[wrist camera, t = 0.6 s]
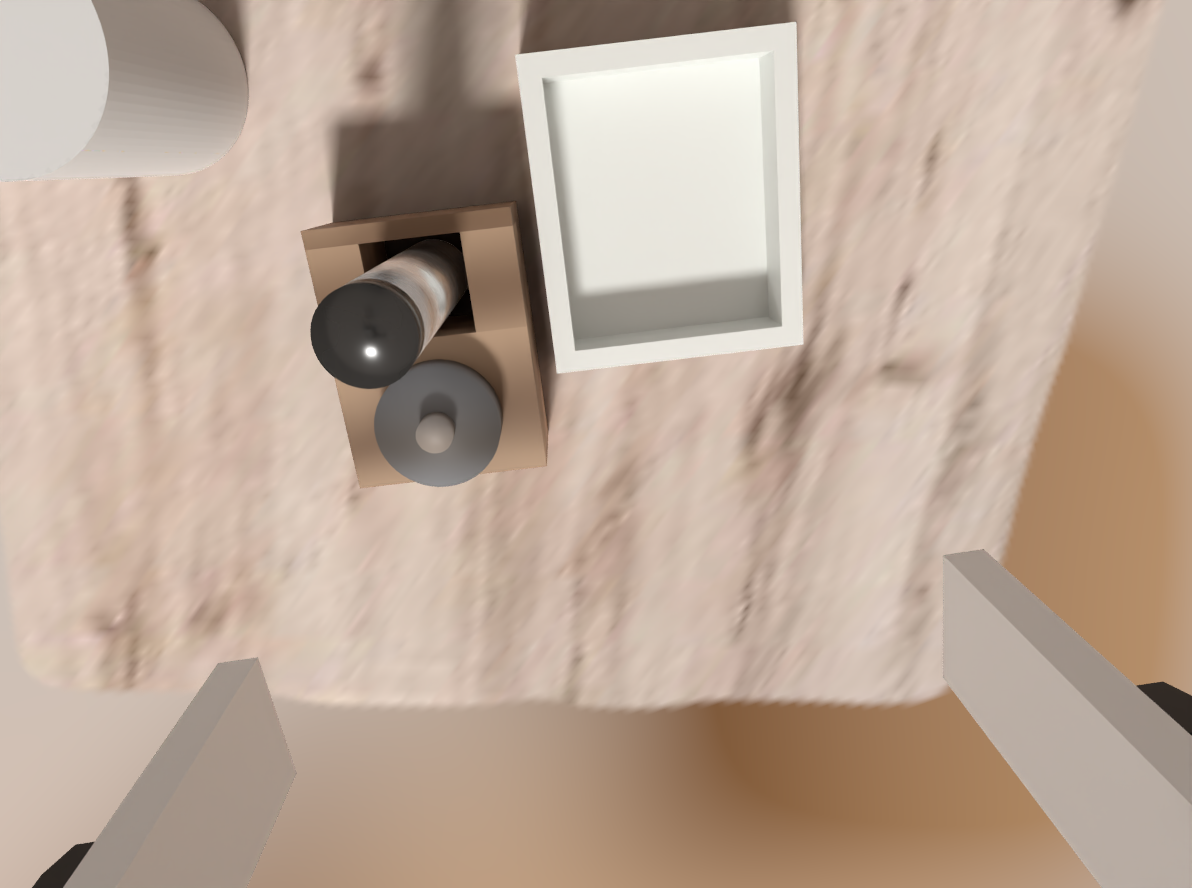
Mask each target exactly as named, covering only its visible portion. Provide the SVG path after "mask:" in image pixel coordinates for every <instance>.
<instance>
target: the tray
mask: <svg viewBox="0 0 1192 888" xmlns="http://www.w3.org/2000/svg"><path fill="white" fill-rule="evenodd" d="M515 57H516V65H517V72H518V80H519V88H520V95H521V103H522V111H523V118H524V126H525V133H526V141H527V149H528V156H529V164H530V171H531V179H532V187H533V194H534V202H535V210H536V217H537V225H538V232H539V240H540V248H541V255H542V263H543V270H544V278H545V286H546V293H547V301H548V308H549V316H550V324H551V331H552V339H553V347H554V354H555V362H556V369H557V374H558V373H567V372H575V371H583V370H592V369H600V368H609V367H617V366H626V365H634V364H642V363H651V362H659V361H668V360H676V359H685V358H693V357H701V356H710V355H718V354H727V353H735V352H744V351H752V350H760V349H769V348H777V347H786V346H794V345H803V306H802V260H801V214H800V168H799V122H798V75H797V29H796V22H790V23H781V24H773V25H764V26H756V27H747V28H739V29H730V30H722V31H713V32H705V33H696V34H688V35H679V36H671V37H662V38H653V39H645V40H636V41H628V42H619V43H611V44H602V45H594V46H585V47H577V48H568V49H560V50H551V51H543V52H534V53H526V54H517V55H515Z"/></svg>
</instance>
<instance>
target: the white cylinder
mask: <svg viewBox="0 0 1192 888" xmlns="http://www.w3.org/2000/svg"><path fill="white" fill-rule="evenodd" d="M247 109H248V82H247V76H246V72H245V67H244V64H243V61H242V58H241V56H240V53H239V51H238V49H237V46H236V44H235V43H234V41H233V39H232V37H231V36H230V34H229V33H228V31H227V30H226V28H225V27H224V26H223V24H222V23H221V22H220V21H219V19H218V18H217V17H216V16H215V15H214V14H213V13H212V12H211V11H210V10H209V9H208V8H207V7H205V6H204V5H203V4H202V3H200V2H199V1H198V0H0V181H3V182H9V181H37V180H65V179H92V178H120V177H148V176H176V175H186V174H191V173H195V172H198V171H201V170H203V169H206V168H208V167H210V166H211V165H213V164H215V163H216V162H218V161H219V160H220V159H221V158H222V157H224V156H225V155H226V154H227V153H228V151H229V150H230V149H231V148H232V147H233V145H234V144H235V142H236V141H237V139H238V137H239V135H240V133H241V131H242V128H243V126H244V123H245V119H246V115H247Z"/></svg>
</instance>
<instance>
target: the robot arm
mask: <svg viewBox="0 0 1192 888" xmlns="http://www.w3.org/2000/svg"><path fill="white" fill-rule="evenodd" d="M943 678H944V679H945V681H946V682H947V683H948V685H949V686H950V687H951V689H952V690H953V691H954V693H955V694H956V695H957V697H958V698H959V699H960V700H961V702H962V703H963V705H964V706H965V707H966V709H967V710H968V711H969V713H970V714H971V715H972V716H973V718H974V719H975V720H976V722H977V723H978V724H979V726H980V727H981V728H982V730H983V731H984V732H985V734H986V735H987V736H988V738H989V739H990V740H991V742H992V743H993V744H994V746H995V747H996V748H997V750H998V751H999V752H1000V753H1001V755H1002V756H1003V757H1004V759H1005V760H1006V762H1007V763H1008V764H1009V766H1010V767H1011V768H1012V769H1013V771H1014V772H1015V773H1016V775H1017V776H1018V777H1019V779H1020V780H1021V781H1022V783H1023V784H1024V785H1025V787H1026V788H1027V789H1028V790H1029V792H1030V793H1031V795H1032V796H1033V797H1034V799H1035V800H1036V801H1037V803H1038V804H1039V805H1040V806H1041V808H1042V809H1043V811H1044V812H1045V813H1046V815H1047V816H1048V817H1049V818H1050V820H1051V821H1052V822H1053V824H1054V825H1055V826H1056V828H1057V829H1058V830H1059V832H1060V833H1061V834H1062V836H1063V837H1064V838H1065V840H1066V841H1067V842H1068V844H1069V845H1070V846H1071V847H1072V849H1073V850H1074V852H1075V853H1076V854H1077V856H1078V857H1079V858H1080V860H1081V861H1082V862H1083V863H1084V865H1085V866H1086V867H1087V869H1088V870H1089V871H1090V873H1091V874H1092V875H1093V877H1094V878H1095V879H1096V881H1097V882H1098V883H1099V885H1100V886H1101V887H1102V888H1192V696H1191V695H1189V694H1187V693H1185V692H1183V691H1181V690H1179V689H1177V688H1175V687H1173V686H1171V685H1169V684H1167V683H1165V682H1157V683H1151V684H1144V685H1137V686H1136V685H1134V684H1133V683H1132V682H1131V681H1130V680H1129V679H1128V678H1127V677H1125V676H1124V675H1123V674H1122V673H1121V672H1120V671H1119V670H1118V669H1117V668H1115V667H1114V666H1113V665H1112V664H1111V663H1110V662H1109V661H1107V660H1106V659H1105V658H1104V657H1103V656H1102V655H1101V654H1100V653H1099V652H1098V651H1096V650H1095V649H1094V648H1093V647H1092V646H1091V645H1090V644H1089V643H1088V642H1086V641H1085V640H1084V639H1083V638H1082V637H1081V636H1080V635H1079V634H1077V633H1076V632H1075V631H1074V630H1073V629H1072V628H1071V627H1070V626H1069V625H1067V624H1066V623H1065V622H1064V621H1063V620H1062V619H1061V618H1060V617H1058V616H1057V615H1056V614H1055V613H1054V612H1053V611H1052V610H1051V609H1050V608H1048V607H1047V606H1046V605H1045V604H1044V603H1043V602H1042V601H1041V600H1040V599H1038V598H1037V597H1036V596H1035V595H1034V594H1033V593H1032V592H1031V591H1029V590H1028V589H1027V588H1026V587H1025V586H1024V585H1023V584H1022V583H1021V582H1019V581H1018V580H1017V579H1016V578H1015V577H1014V576H1013V575H1012V574H1010V573H1009V572H1008V571H1007V570H1006V569H1005V568H1004V567H1003V566H1002V565H1000V564H999V563H998V562H997V561H996V560H995V559H994V558H993V557H991V556H990V555H989V554H988V553H987V552H986V551H985V550H984V549H982V550H975V551H969V552H962V553H955V554H949V555H943ZM295 775H296V770H295V767H294V764H293V761H292V758H291V755H290V752H289V749H288V746H287V743H286V740H285V737H284V734H283V731H282V728H281V725H280V722H279V719H278V716H277V713H276V710H275V707H274V704H273V701H272V698H271V695H270V692H269V689H268V686H267V683H266V680H265V677H264V674H263V671H262V668H261V665H260V662H259V659H258V657H257V658H251V659H244V660H237V661H230V662H224V663H218V664H217V666H216V667H215V668H214V670H213V671H212V673H211V674H210V676H209V677H208V679H207V680H206V682H205V683H204V684H203V686H202V687H201V689H200V690H199V692H198V693H197V695H196V696H195V697H194V699H193V700H192V702H191V703H190V705H189V706H188V708H187V709H186V711H185V712H184V713H183V715H182V716H181V718H180V719H179V721H178V722H177V724H176V725H175V727H174V728H173V729H172V731H171V732H170V734H169V735H168V737H167V738H166V740H165V741H164V742H163V744H162V745H161V747H160V748H159V750H158V751H157V752H156V754H155V755H154V757H153V758H152V760H151V761H150V763H149V764H148V766H147V767H146V768H145V770H144V771H143V773H142V774H141V776H140V777H139V779H138V780H137V781H136V783H135V784H134V786H133V787H132V789H131V790H130V792H129V793H128V794H127V796H126V797H125V799H124V800H123V802H122V803H121V805H120V806H119V808H118V809H117V810H116V812H115V813H114V815H113V816H112V818H111V819H110V821H109V822H108V823H107V825H106V827H105V828H104V829H103V831H102V832H101V834H100V835H99V836H98V838H97V839H96V841H95V842H90V843H84V844H77V845H75V846H74V847H72V848H71V849H70V850H69V851H68V852H67V853H66V854H65V855H63V856H62V857H61V858H60V859H59V860H58V861H57V862H56V863H54V865H52V866H51V867H50V868H49V869H48V870H47V871H46V872H44V873H43V874H42V875H41V876H40V878H39V879H38V880H37V882H36V883H35V885H34V886H33V887H32V888H247V886H248V884H249V881H250V879H251V876H252V874H253V872H254V870H255V868H256V865H257V863H258V861H259V858H260V856H261V854H262V851H263V849H264V847H265V845H266V842H267V840H268V838H269V835H270V833H271V831H272V828H273V826H274V824H275V822H276V819H277V817H278V815H279V812H280V810H281V808H282V805H283V803H284V801H285V799H286V796H287V794H288V792H289V789H290V787H291V785H292V782H293V780H294V778H295Z"/></svg>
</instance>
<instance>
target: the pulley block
mask: <svg viewBox="0 0 1192 888" xmlns="http://www.w3.org/2000/svg"><path fill="white" fill-rule="evenodd" d="M456 232H460V237H461V243H462V249H463V255H464V261H465V267H466V273H467V279H468V286H469V292H470V298H471V304H472V310H473V314H468V315H460V316H451V317H447V318H446V320H445V321H444V322H443V324H442V325H441V327H440V328H439V329H438V331H437V332H436V334H435V335H434V336H433V338H432V339H431V340H430V342H429V343H428V345H427V346H426V347H425V349H424V350H423V352H422V353H421V354H420V356H419V357H418V358H417V360H416V361H415V363H414V364H413V365H412V367H411V368H410V370H409V371H408V372H407V373H406V374H405V375H404V376H403V377H402V378H401V379H399V380H398V381H396V382H395V383H393V384H391V385H388V386H385V387H382V388H377V389H362V388H357V387H353V386H350V385H347V384H345V383H343V382H341V381H339V380H338V379H336V378H335V382H336V386H337V390H338V395H339V399H340V403H341V408H342V412H343V416H344V421H345V425H346V430H347V434H348V438H349V443H350V447H351V451H352V456H353V460H354V464H355V469H356V473H357V477H358V482H359V486H360V488H367V487H375V486H384V485H392V484H401V483H409V482H417V483H420V484H423V485H428V486H436V487H445V486H453V485H457V484H461V483H464V482H466V481H468V480H470V479H472V478H474V477H475V476H477V475H478V474H485V473H493V472H501V471H510V470H518V469H527V468H535V467H543V466H547V449H548V427H547V420H546V413H545V406H544V399H543V391H542V384H541V377H540V370H539V363H538V355H537V348H536V341H535V334H534V327H533V319H532V312H531V305H530V298H529V291H528V283H527V276H526V269H525V262H524V255H523V247H522V240H521V233H520V226H519V219H518V211H517V204H516V201H512V202H504V203H496V204H487V205H479V206H470V207H462V208H453V209H445V210H436V211H428V212H419V213H411V214H402V215H394V216H385V217H377V218H368V219H360V220H351V221H343V222H334V223H330V224H326V225H322V226H318V227H315V228H311V229H307V230H304V231H301V234H302V239H303V243H304V247H305V252H306V256H307V260H308V265H309V269H310V273H311V278H312V282H313V286H314V291H315V295H316V299H317V304H318V305H319V304H320V303H321V301H322V300H323V299H324V298H325V297H326V296H327V295H328V294H330V293H331V292H333V291H334V290H336V289H338V288H339V287H341V286H343V285H345V284H346V283H348V282H350V281H352V280H353V279H355V278H357V277H359V276H360V275H362V274H364V273H366V272H367V271H369V270H371V269H373V268H374V267H376V266H378V265H380V264H381V263H383V262H385V261H387V260H388V259H387V253H386V248H385V243H384V241H388V240H397V239H405V238H414V237H422V236H431V235H439V234H448V233H456Z"/></svg>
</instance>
